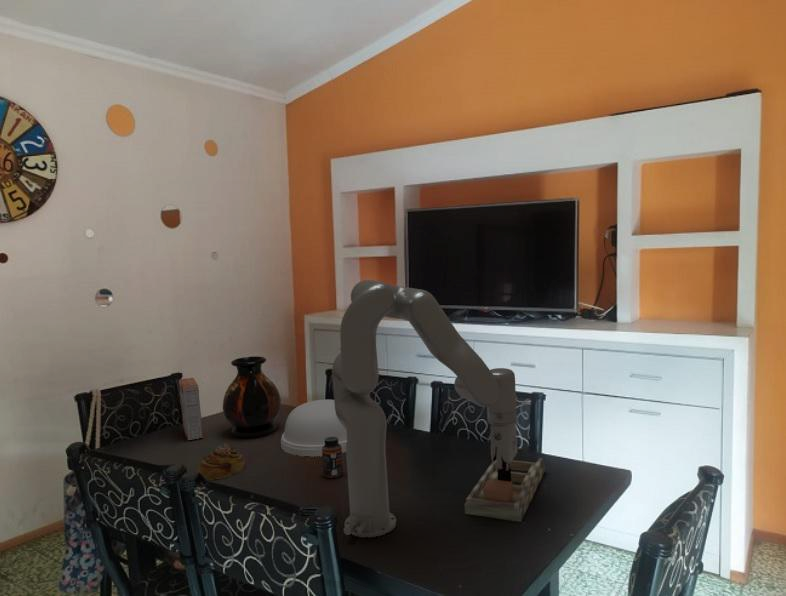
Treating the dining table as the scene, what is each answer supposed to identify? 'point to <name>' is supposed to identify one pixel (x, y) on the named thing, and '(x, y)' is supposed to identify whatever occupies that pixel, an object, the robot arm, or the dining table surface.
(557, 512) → the dining table surface
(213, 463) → the pastry
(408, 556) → the dining table surface
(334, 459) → the supplement bottle
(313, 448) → the dome cover
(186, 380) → the cracker box
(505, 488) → the terracotta block
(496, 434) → the robot arm
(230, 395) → the dark brown vase
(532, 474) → the board
